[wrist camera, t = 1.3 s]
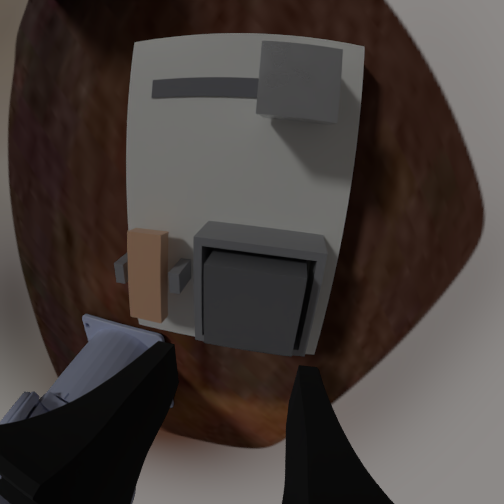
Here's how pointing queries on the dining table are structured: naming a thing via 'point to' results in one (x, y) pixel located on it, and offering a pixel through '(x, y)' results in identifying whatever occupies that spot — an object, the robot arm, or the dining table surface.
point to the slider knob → (299, 82)
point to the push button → (253, 300)
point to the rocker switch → (148, 273)
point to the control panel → (235, 169)
